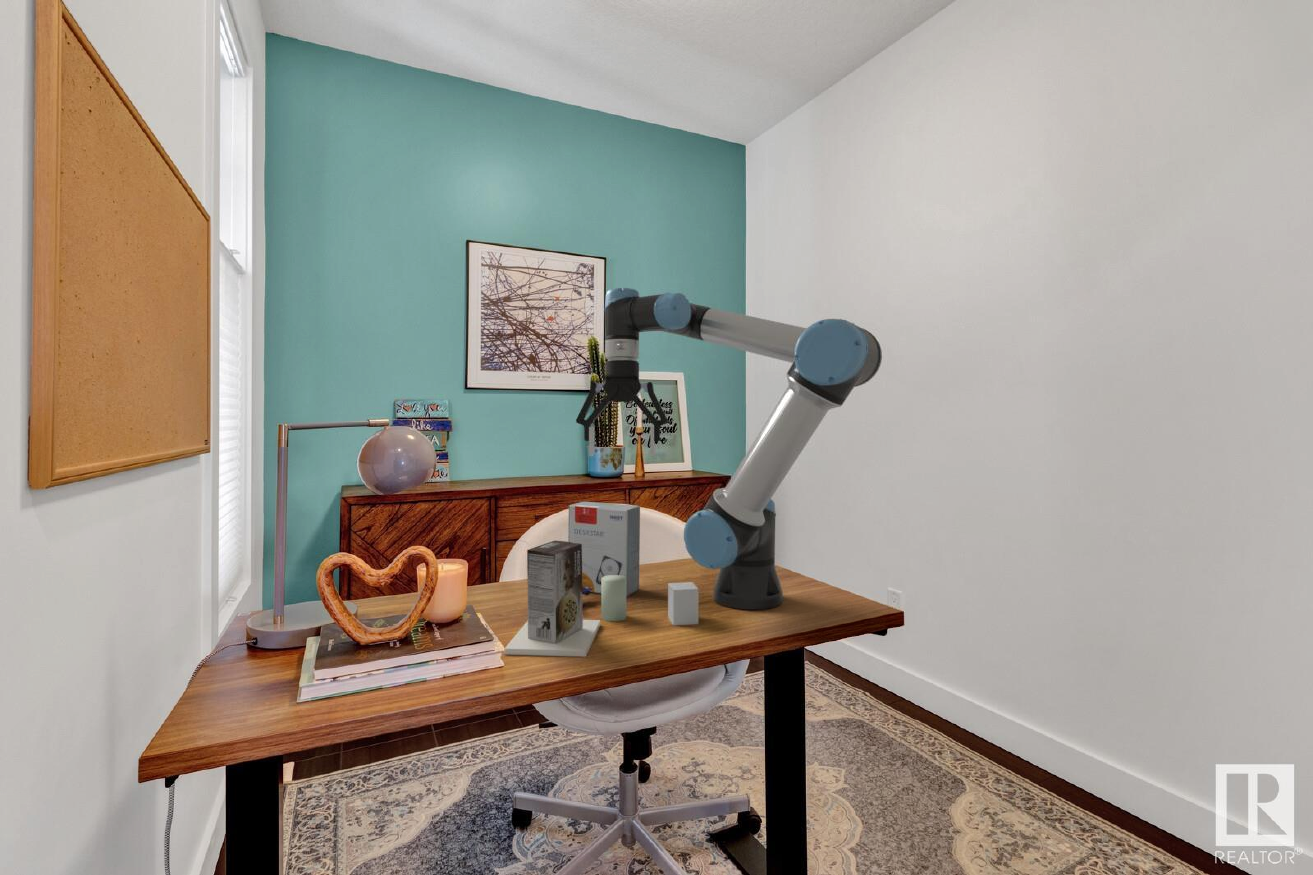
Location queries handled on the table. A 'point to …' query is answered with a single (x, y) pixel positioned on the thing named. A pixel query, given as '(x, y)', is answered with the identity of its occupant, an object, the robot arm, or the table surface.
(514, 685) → the table surface
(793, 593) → the table surface
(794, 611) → the table surface
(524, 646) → the tile
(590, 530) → the hard drive box
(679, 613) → the grey block
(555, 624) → the grey product box
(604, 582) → the sage cylinder
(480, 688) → the table surface
